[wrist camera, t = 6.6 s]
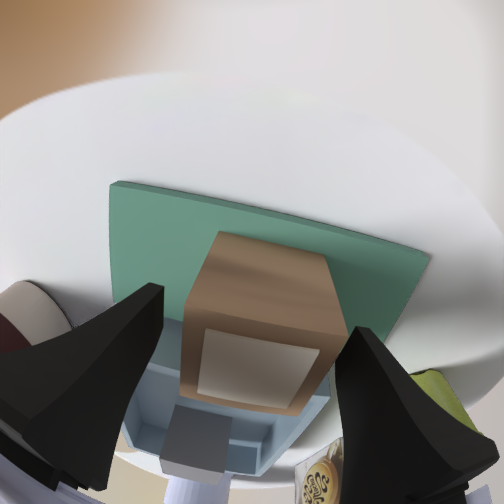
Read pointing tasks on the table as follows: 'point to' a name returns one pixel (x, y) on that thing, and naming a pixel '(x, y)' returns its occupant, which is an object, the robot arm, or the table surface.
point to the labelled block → (259, 326)
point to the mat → (258, 227)
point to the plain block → (196, 445)
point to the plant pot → (443, 396)
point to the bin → (243, 422)
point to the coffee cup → (28, 317)
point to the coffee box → (320, 476)
